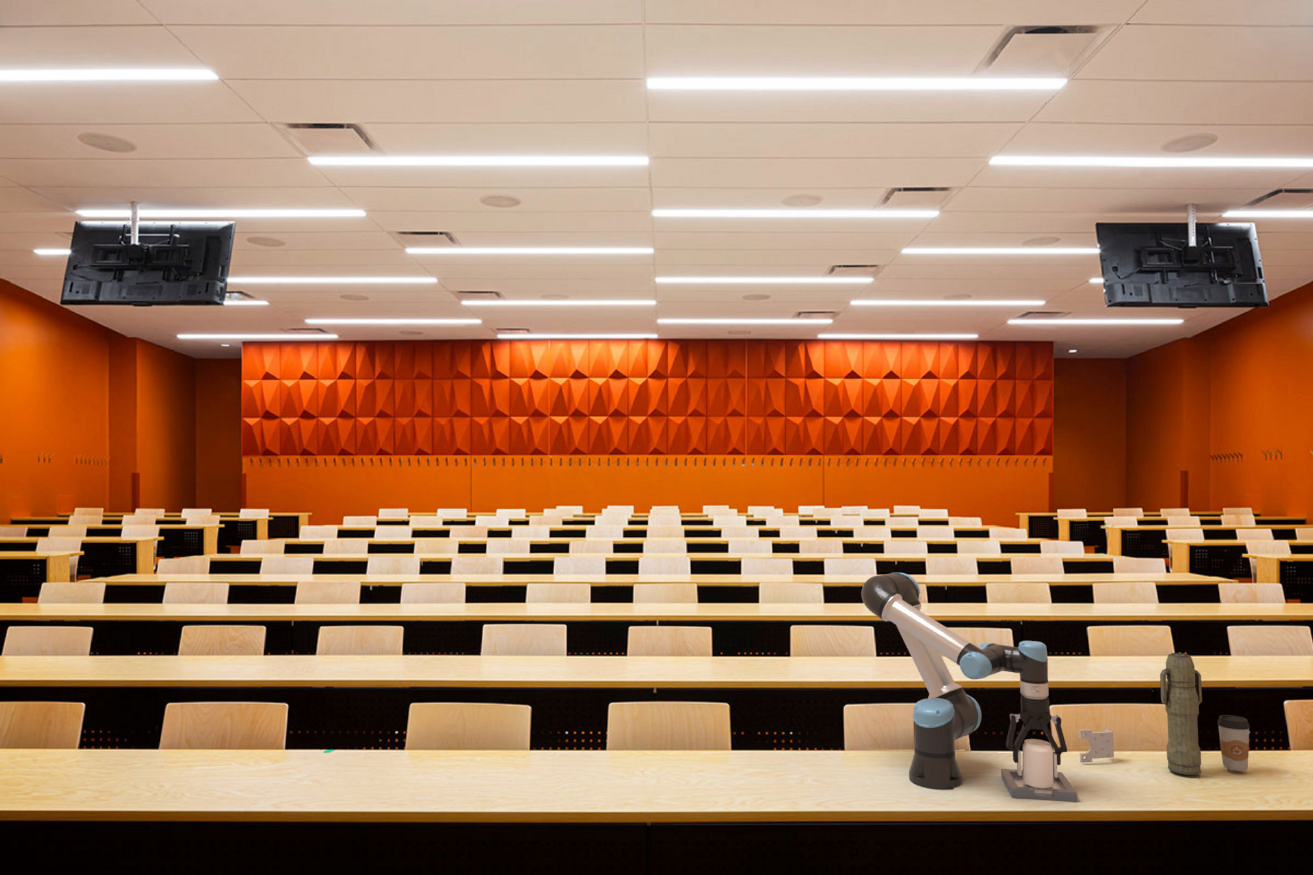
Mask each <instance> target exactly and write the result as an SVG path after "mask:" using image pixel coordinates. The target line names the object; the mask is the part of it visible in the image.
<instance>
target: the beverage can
mask: <svg viewBox="0 0 1313 875" xmlns="http://www.w3.org/2000/svg"><path fill="white" fill-rule="evenodd" d="M1053 752H1054V748H1053V747H1052V745H1051V743H1050V741H1046V740H1043V739H1036V738H1030V739H1029V738H1028V739H1024V740H1023V743H1022V770H1023V782H1024V783H1025V784H1027V785H1028V786H1031V787H1034V788H1039V789H1046V788H1050V787H1052V786H1053Z"/></svg>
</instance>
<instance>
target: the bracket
mask: <svg viewBox="0 0 1313 875" xmlns="http://www.w3.org/2000/svg"><path fill="white" fill-rule="evenodd" d="M1078 739H1080V740H1087V741H1088V743H1089V749H1088V750H1087V751H1085V752H1079V762H1080V763H1093V760H1094V759H1095V760H1096V759H1108V758H1109V759H1111V758H1115V756H1114V755H1115V752H1114V748H1115V747H1114V732H1113V731H1112V730H1109V729H1107V728H1104V727H1103V731H1095V732H1094V731H1093V732H1092V729H1090V728H1089V729H1088V728H1086V729H1078Z"/></svg>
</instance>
